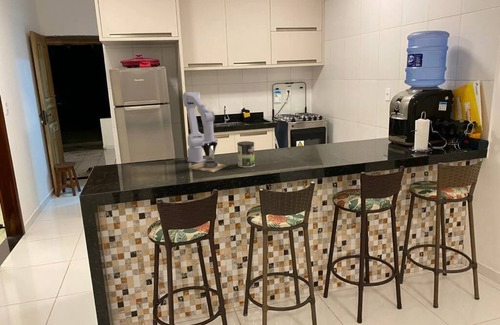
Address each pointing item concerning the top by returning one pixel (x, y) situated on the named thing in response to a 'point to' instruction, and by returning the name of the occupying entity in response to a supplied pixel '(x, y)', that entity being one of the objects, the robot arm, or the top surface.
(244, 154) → the coffee can
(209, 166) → the steel ring
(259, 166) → the top surface
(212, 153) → the aluminium piston
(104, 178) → the top surface
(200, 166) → the birch board
